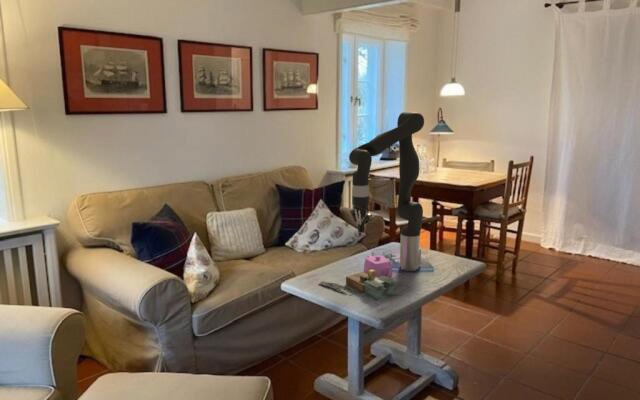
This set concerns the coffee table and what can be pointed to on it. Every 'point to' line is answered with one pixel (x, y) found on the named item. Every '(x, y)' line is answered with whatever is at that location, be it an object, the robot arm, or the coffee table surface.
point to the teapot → (378, 266)
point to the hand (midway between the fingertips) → (361, 231)
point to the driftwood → (338, 287)
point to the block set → (372, 285)
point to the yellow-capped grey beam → (372, 276)
